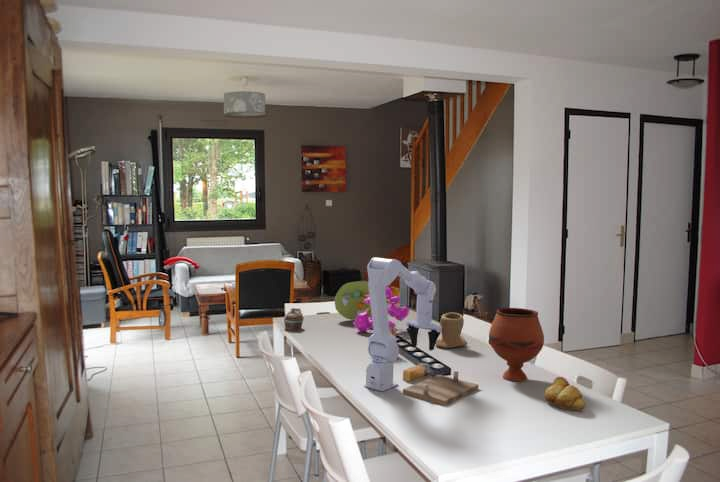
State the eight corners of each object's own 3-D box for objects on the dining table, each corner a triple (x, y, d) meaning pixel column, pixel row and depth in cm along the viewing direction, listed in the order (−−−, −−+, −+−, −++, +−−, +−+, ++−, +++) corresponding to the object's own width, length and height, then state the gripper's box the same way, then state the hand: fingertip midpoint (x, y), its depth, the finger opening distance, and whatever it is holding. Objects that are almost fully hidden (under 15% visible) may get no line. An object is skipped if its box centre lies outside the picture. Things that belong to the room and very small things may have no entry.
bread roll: (592, 411, 173) (593, 385, 173) (569, 416, 169) (570, 390, 168) (559, 397, 185) (561, 374, 184) (538, 402, 180) (539, 377, 180)
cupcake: (285, 326, 281) (285, 306, 280) (304, 326, 280) (304, 307, 280) (281, 330, 271) (282, 310, 270) (301, 331, 271) (302, 310, 270)
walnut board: (444, 405, 175) (445, 391, 174) (402, 393, 185) (403, 380, 184) (478, 388, 191) (478, 375, 191) (438, 378, 202) (438, 366, 201)
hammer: (411, 382, 197) (411, 372, 197) (401, 379, 200) (401, 369, 200) (431, 374, 207) (432, 364, 207) (421, 371, 210) (422, 362, 210)
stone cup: (446, 351, 239) (448, 317, 238) (430, 345, 250) (431, 312, 249) (474, 348, 247) (475, 314, 246) (457, 341, 257) (458, 309, 256)
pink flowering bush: (381, 264, 299) (409, 282, 267) (390, 312, 308) (417, 336, 276) (329, 279, 291) (351, 300, 259) (339, 328, 299) (361, 355, 267)
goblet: (481, 370, 213) (483, 305, 211) (530, 370, 214) (533, 306, 213) (496, 386, 194) (499, 315, 192) (550, 386, 195) (553, 316, 194)
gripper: (446, 313, 206) (445, 349, 207) (413, 308, 215) (412, 342, 216) (436, 316, 201) (435, 353, 202) (403, 310, 210) (402, 346, 211)
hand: (422, 348), depth 209 cm, fingers open, 7 cm apart
